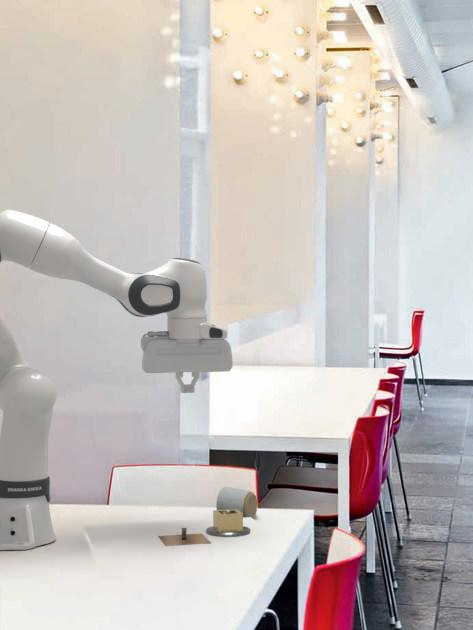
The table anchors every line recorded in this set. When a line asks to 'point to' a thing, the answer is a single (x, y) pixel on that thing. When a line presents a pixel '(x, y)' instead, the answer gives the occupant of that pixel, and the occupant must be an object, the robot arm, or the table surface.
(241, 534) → the stand
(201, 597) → the table surface
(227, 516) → the collar
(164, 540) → the stand
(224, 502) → the grey cylinder tan end
